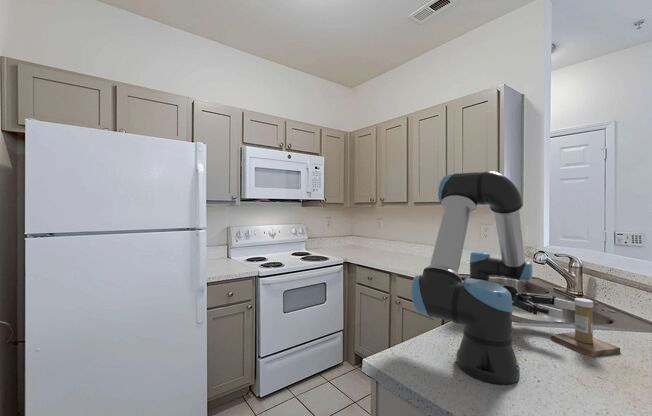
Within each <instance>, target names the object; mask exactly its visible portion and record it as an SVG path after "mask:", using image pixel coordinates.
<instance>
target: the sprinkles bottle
mask: <svg viewBox="0 0 652 416" xmlns="http://www.w3.org/2000/svg"><path fill="white" fill-rule="evenodd" d="M574 303H575V311H574V332H575V339H576V340H578V341H580V342H583V343H589V344H590V343H593V338H594V337H593V336H594V334H593V333H594V323H593V322H594V321H593V320H594V319H593V312H594V311H593V309H594V301H593V300H591V299H588V298H582V297H575V298H574Z"/></svg>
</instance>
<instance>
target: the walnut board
mask: <svg viewBox="0 0 652 416" xmlns="http://www.w3.org/2000/svg"><path fill="white" fill-rule="evenodd" d="M550 340H552V341H554V342H557V343H559V344H561V345H563V346H566V347H568V348H570V349H572V350H575V351H577V352H579V353H581V354H584V355H585V356H588V357H590V358H591V357H600V356H605V355H606V356H607V355H613V354H621V347H619V346H617V345H613V344H611V343H608V342H606V341H604V340H600V339H598V338H595V337H593V343H590V344H589V343H583V342H580V341H578V340H576V339H575V331H573V332H563V333H552V334H550Z"/></svg>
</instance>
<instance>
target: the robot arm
mask: <svg viewBox="0 0 652 416" xmlns="http://www.w3.org/2000/svg"><path fill="white" fill-rule="evenodd" d="M437 199H438V201H439V202H440V203H441V207H442V208H443V212H442V213H443V214H442V217H441V220H440V224H439V229H438V232H437V236H436V240H435V244H434V248H433V252H432V256H431V260H430V264H429V265H428V266H425V267H424V268H423V272H422V274H419V275H416V276H415V277H414V278H413V280H412V283H411V290H410V291H411V292H410V293H411V301H412V304H413V307H414V309H415V310H416V311H417V312H418V313H420V314H422V315H425V316H428V317H429V318H435V319H441V320H443V321H448V322H451V323H454V324H459V325H462V327H463V336H462V338H461V342H460V344H459V347H458V349H457V351H456V355H455V356H456V362H455V363H456V365H457V366H458V368H459V369H460V370H461V371H463V373H465V374H467V375H468V376H471V377H473V378H474V379H477V380H480V381H483V382H486V383H491V384H495V385H511V384H515V383H516V382H519V380H520V378H521V377H520V376H521V375H520V374H521V373H520V365H519V363H518V361H517V357H516V354H515V351H514V348H513V310H514V307H515V308H519V309H521V310H523V311H524V312H525V311H526V312H527V313H530V314H533V315H536V316H537V315H538V313H539V314H542V315H545V316H549V317H554V318H556V319H560V320H562V319H563V309H566V310H571V311H574V312H575V301H569V300H564V299H560V298H557V297H556V296H557V295H546V294H540V293H539V294H538V293H531V292H527V291H524V292H521V293H519V292H518V290H517V288H516V287H514V286H511V285H506V284H502V283H497V282H493V281H492V282H491V281H490V277H496V278H503V279H508V280H515V281H523V282H531V280H532V279H533V265H532V262H530V261H527V260H525V250H524V242H523V241H524V240H523V233H522V231H523V230H522V224H521V214H520V210H521V209H522V208H523V201H522V200H523V199H522V195H521V194H520V191H519V189H518V188H517V187H516V185H515V184H514V182H513V181H511V180H510V179H509V178H508V177H507V176H505V175H504V174H502V173H500V172H498V171H497V172H496V171H492V170H491V171H490V170H486V171H476V172H475V171H473V172H461V173H459V172H455V173H449V174H446V175H444V177H442V179H441V180H440V182H439V186H438V192H437ZM478 205H489V209H490V211H491V212H492V213H494V218H495V219H494V220H495V224H496V232H497V239H498V245H499V249H500V250H499V251H500V255H501V257H500V258H497V257H496V258H495V257H491V255H490V253H489V252H485V251H471V253H470V257H469V276H468V277H465V279H464V280H463V279H462V277H461V275H460V274H459V269H460V264H461V259H462V256H463V255H462V254H463V250H464V245H465V240H466V236H467V235H466V234H467V230H468V226H469V222H470V221H469V220H470V217H471V216H470V215H471V214H472V213H475V211H476V210H477V206H478ZM462 281H463V282H462ZM546 305H550V306H551V305H552V306H554V307H557V308H554V307H550V306H546ZM559 308H560V309H559ZM561 308H562V309H561Z"/></svg>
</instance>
